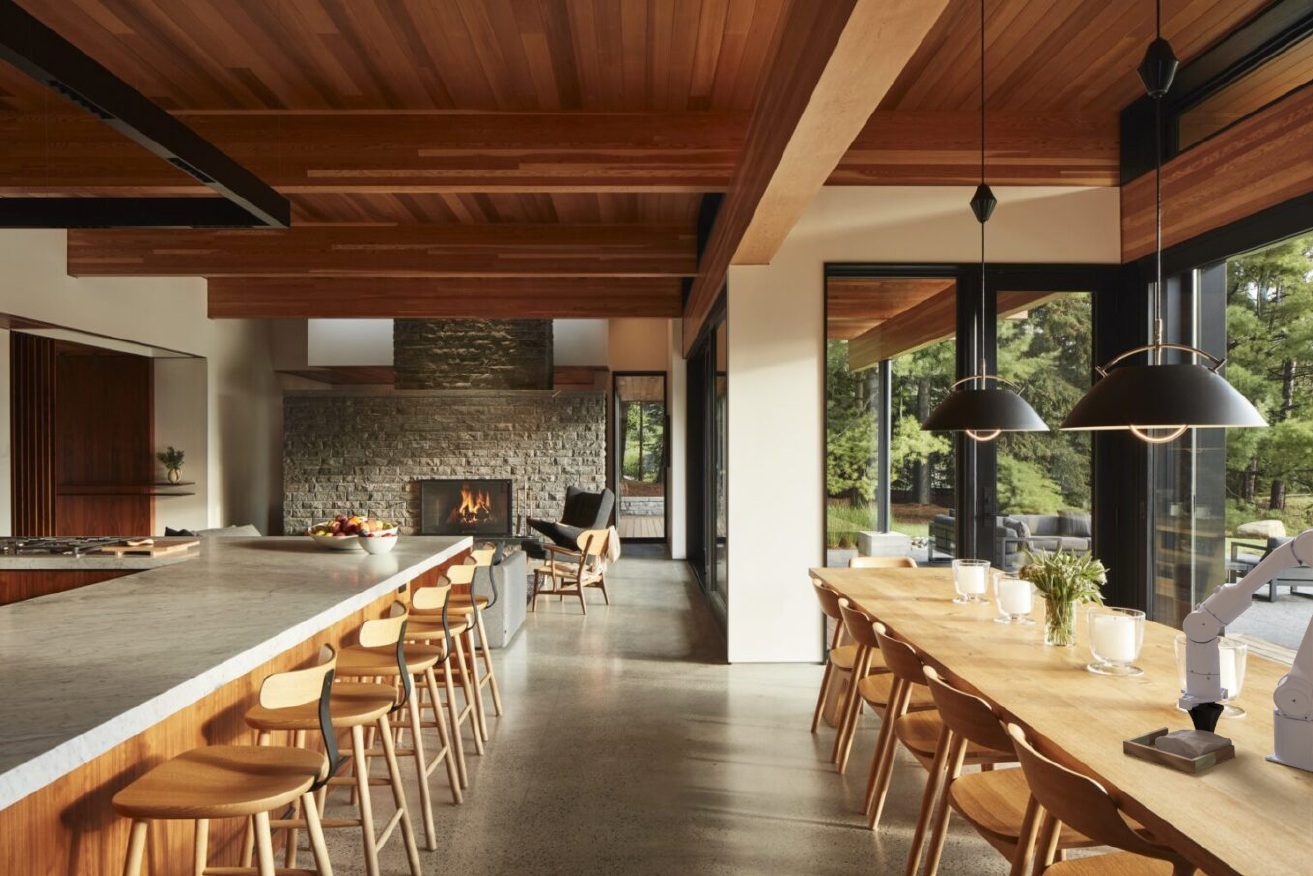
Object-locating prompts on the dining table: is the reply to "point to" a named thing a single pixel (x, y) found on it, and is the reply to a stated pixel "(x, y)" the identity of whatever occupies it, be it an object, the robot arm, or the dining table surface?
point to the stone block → (1191, 743)
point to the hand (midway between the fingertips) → (1205, 739)
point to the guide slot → (1141, 749)
